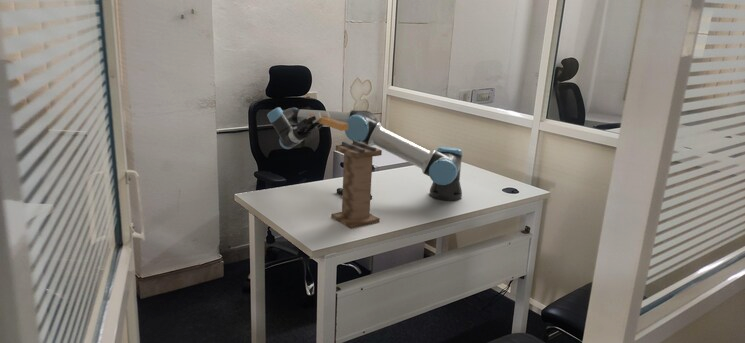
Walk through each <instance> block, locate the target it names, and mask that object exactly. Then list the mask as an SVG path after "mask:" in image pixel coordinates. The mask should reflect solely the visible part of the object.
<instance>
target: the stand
mask: <svg viewBox="0 0 745 343" xmlns="http://www.w3.org/2000/svg"><path fill="white" fill-rule="evenodd" d="M382 150H383V149H381V148H376V147H375V146H372V145H370V146H369V145H366V144H364V143H362V142H358V141H355V140H353V141H352V143H349V142H346V141H342V142H341V144H339V145H338V144H337V145H335V151H336V152H338V153H341V154H343V169H342V171H343V172H342V173H343V174H342V178H343V179H342V189H343V195H342V199H341V200H342V201H341V211H339V212H334V213H331V218H332V219H333V220H336V221H337V222H339V223H340V224H342V225H344V226H346V227H347V228H349V229H351V230H352V229H356V228H360V227H365V226H368V225H373V224H377V223H380V221H381V220H380V219H381V218H379V217H378V216H376V215H373V213H371V212H370V211H371V200H370V195H371V196H372V193H371V192H372V176H373V175H372V174H373V157H379V156H382V152H383V151H382Z"/></svg>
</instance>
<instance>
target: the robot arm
mask: <svg viewBox="0 0 745 343" xmlns="http://www.w3.org/2000/svg"><path fill="white" fill-rule="evenodd" d="M266 114H267V115H266V117H267V118H268V120H269V123H271V125H272V126H273V128H274V130H275V131H276V133H277V135H278V136H279V139H278V140H279V141H278V142H279V145H280V146H281V147H282V148H283V149H286V150H290V149H293V148H294V147H296V146H297V145H299V144H301V142H303V141H304V140H306V139H307V138H308V137H310V135H311V133H312V132H313V131H314V130H315V129H317V130H321V128H322V127H326V128H327V127H328V128H330V127H329V126H326V125H323V124H320V123H317V121H318V120H319V119H321V118H322V117H321V115H322V116H326V117H329V118H332V119H335V120H338V121H341V122H344V123H347V124H348V130H344V134H345V135H346V137H347V138H348V140H350V141H352V142H353V140H355V141H358V142H361V143H364V144H366V145H369V146H372V145H374V146H376V147H378V148H379V149H381V150H384V151H386V152H387V153H389V154H392V155H394V156H396V157H398V158H399V159H402V160H404V161H406V162H407V163H409V164H412V165H413V166H415V167H417V168H419V169H421V171H422V174H424V175H426V176H427V177H429V178H430V179H431V180H430V181H432V184H431V186H430V188H429V196H431V197H432V198H435V199H437V200H441V201H457V200H460V199H462V198H463V197H462V196H463V191H462V186H461V185H462V184H461V182H460V179H461V178H460V177H461V169H462V159H463V150H462V149H460V148H457V147H450V146H449V147H448V146H439V147H438V148H436V149H433V150H429V149H427V148H424V147H423V146H421V145H419V144H416V143H414V142H413V141H411V140H409V139H407V138H405V137H402V136H401V135H399V134H396V133H395V132H393V131H391V130H388V129H387V128H384V127H383V126H382V124H381V123H382V122H380V121H378V120H377V117H376V115H375V114H374V113H373V112H371V111H369V110H354V109H353V110H352V109H351V110H350V111H334V110H332V111H331V110H316V109H303V108H302V109H299V108H297V107H288V108H287V109H282V108H281V107H279V106H278V107H275V108H274V109H272V110H271V111H269V112H268V113H266ZM310 114H315V115H314V116H312V117H311V118H310Z"/></svg>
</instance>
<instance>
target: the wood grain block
mask: <svg viewBox="0 0 745 343" xmlns="http://www.w3.org/2000/svg"><path fill="white" fill-rule="evenodd" d="M314 115H315V114H310V118H311V117H312V116H314ZM321 117H322V118H321V119H319V120H318V121H317V123H320V124H323V125H326V126H329V127H328V128H332V129H335V130H338V131H339V132H341V131H345V130H348V124H347V123H344V122H341V121H338V120H335V119H332V118H329V117H326V116H322V115H321Z"/></svg>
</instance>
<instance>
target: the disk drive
mask: <svg viewBox="0 0 745 343" xmlns="http://www.w3.org/2000/svg"><path fill="white" fill-rule="evenodd" d="M336 194H338V195H339V196H342V195H343V187H342V188H341V187H337V189H336ZM372 199H373V195H372V194H371V195H370V201H371V200H372Z"/></svg>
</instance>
